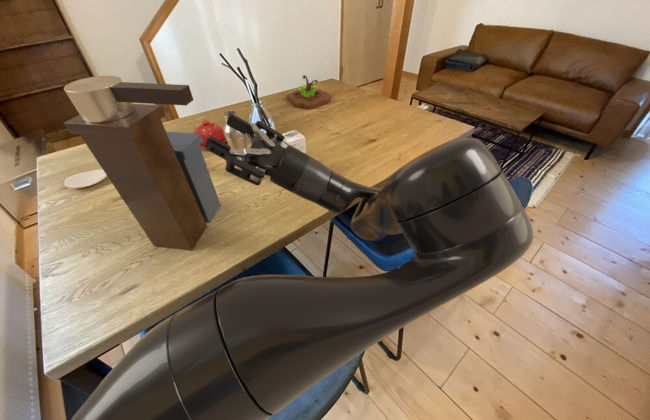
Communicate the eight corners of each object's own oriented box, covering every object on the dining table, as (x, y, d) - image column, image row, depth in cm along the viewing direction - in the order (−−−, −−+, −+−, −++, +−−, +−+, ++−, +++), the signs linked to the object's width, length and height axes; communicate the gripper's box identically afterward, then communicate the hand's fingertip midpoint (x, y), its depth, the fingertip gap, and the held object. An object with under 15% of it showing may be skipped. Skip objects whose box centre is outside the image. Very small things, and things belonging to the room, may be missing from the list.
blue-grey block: (212, 224, 73) (182, 151, 58) (170, 220, 74) (130, 147, 59) (224, 204, 78) (200, 133, 64) (185, 201, 80) (153, 130, 65)
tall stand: (194, 252, 66) (129, 127, 44) (148, 247, 67) (63, 122, 45) (211, 226, 72) (161, 105, 51) (169, 221, 74) (103, 102, 52)
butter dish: (208, 152, 100) (200, 131, 94) (190, 143, 105) (182, 122, 99) (233, 140, 106) (228, 119, 100) (215, 132, 111) (209, 111, 106)
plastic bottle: (240, 181, 87) (224, 120, 73) (231, 171, 90) (214, 112, 77) (258, 173, 90) (246, 114, 76) (248, 164, 93) (235, 106, 80)
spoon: (180, 164, 94) (177, 155, 92) (68, 196, 82) (60, 187, 79) (175, 152, 100) (172, 144, 98) (69, 181, 87) (62, 172, 85)
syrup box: (297, 169, 91) (293, 128, 81) (308, 177, 88) (305, 135, 78) (282, 176, 89) (277, 134, 79) (293, 184, 85) (288, 142, 75)
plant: (312, 90, 146) (311, 67, 138) (336, 100, 135) (337, 76, 127) (280, 99, 136) (277, 75, 129) (304, 111, 125) (302, 86, 118)
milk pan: (183, 129, 43) (170, 97, 40) (71, 121, 46) (50, 90, 42) (206, 108, 49) (197, 79, 46) (105, 103, 51) (90, 74, 48)
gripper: (317, 141, 54) (239, 95, 50) (302, 184, 43) (203, 131, 40) (300, 167, 59) (229, 127, 55) (283, 212, 48) (193, 167, 44)
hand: (218, 129), depth 47 cm, fingers open, 8 cm apart
